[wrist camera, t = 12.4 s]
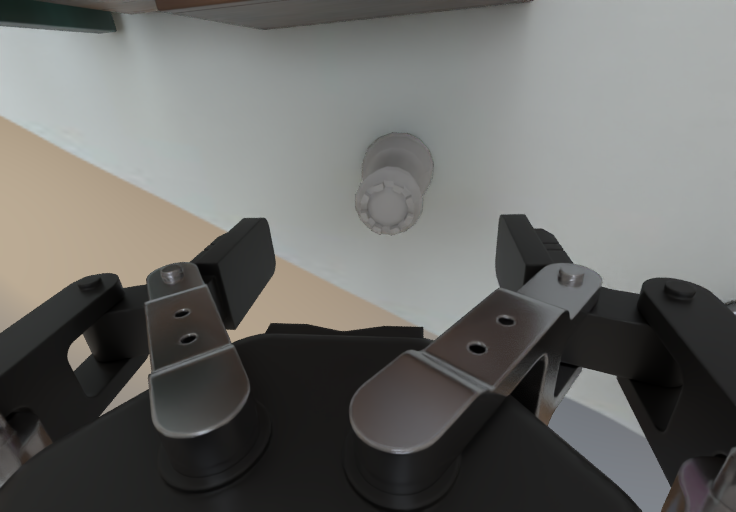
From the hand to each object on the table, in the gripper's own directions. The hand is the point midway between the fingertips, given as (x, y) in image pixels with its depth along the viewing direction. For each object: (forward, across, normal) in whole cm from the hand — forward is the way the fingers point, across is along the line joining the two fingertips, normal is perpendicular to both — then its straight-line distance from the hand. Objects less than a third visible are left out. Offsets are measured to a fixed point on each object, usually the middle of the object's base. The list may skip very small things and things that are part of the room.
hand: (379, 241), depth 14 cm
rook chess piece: (+13, 0, +1) cm, 13 cm away
